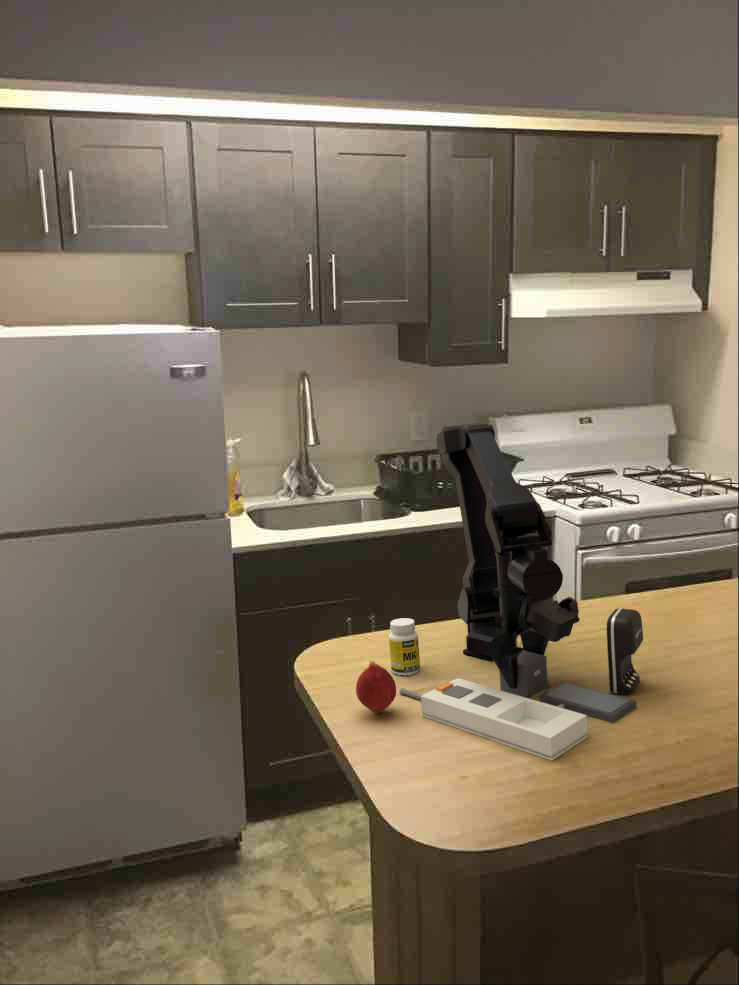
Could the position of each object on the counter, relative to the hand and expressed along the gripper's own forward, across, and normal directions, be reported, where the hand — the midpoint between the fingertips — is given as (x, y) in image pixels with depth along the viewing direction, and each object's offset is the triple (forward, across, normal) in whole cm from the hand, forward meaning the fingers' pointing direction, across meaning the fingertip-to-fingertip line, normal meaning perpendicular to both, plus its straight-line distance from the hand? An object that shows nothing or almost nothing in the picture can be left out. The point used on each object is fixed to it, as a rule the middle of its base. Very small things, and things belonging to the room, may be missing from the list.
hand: (524, 682), depth 126 cm
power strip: (+1, -12, -1) cm, 12 cm away
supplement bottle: (+1, -5, +20) cm, 21 cm away
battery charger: (+1, +9, -12) cm, 15 cm away
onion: (+1, -19, +12) cm, 23 cm away
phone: (+1, -3, -11) cm, 11 cm away
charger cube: (+1, 0, 0) cm, 1 cm away
